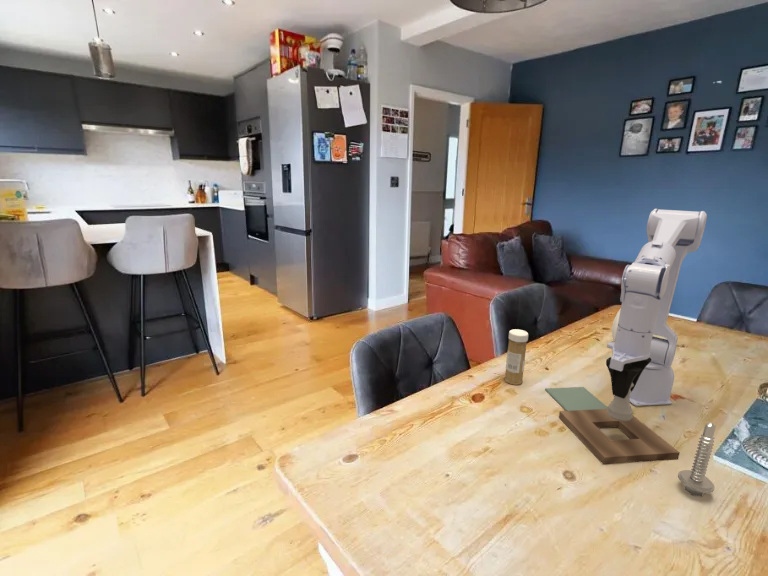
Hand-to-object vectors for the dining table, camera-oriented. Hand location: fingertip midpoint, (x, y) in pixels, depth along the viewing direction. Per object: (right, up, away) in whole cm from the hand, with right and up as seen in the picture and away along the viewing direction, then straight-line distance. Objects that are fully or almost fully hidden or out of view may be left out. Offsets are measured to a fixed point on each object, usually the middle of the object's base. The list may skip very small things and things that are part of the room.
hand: (622, 392), depth 78 cm
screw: (+5, -14, -11) cm, 18 cm away
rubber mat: (-1, -6, +16) cm, 17 cm away
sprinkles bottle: (-14, -4, +24) cm, 28 cm away
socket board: (0, -9, +3) cm, 10 cm away
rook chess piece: (0, -5, +1) cm, 5 cm away
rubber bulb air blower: (+28, +2, +47) cm, 55 cm away
